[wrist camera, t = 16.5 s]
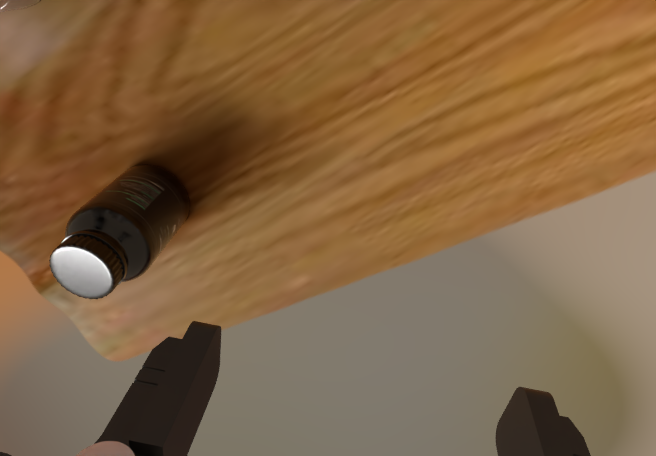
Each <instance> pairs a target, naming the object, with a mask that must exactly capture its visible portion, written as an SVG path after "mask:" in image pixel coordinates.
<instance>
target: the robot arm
mask: <svg viewBox="0 0 656 456" xmlns="http://www.w3.org/2000/svg"><path fill="white" fill-rule="evenodd" d="M39 1H40V0H0V12H4V11H10V10H16V9H22V8H26V7H29V6H32V5H35V4H36V3H38V2H39ZM220 348H221V327H220V326H217V325H211V324H206V323H201V322H196V321H193V322H192V323H191V324H190V326H189V328H188V330H187V331H186V333H185V335H184V337H183V339H178V338H173V337H168V338H166V339H165V340H164V341H163V342H161V343H160V344H159V345H158V346H156V347H155V348H154V349H152V351H151V353H150V354H149V356H148V358H147V360H146V361H145V363H144V365H143V368H142V369H141V370H140V371H139V373H138V375H137V377H136V378H135V381H134V383H132V385H131V386H130V388H129V390H128V392H127V393H126V395H125V397H124V398H123V400H122V402H121V403H120V405H119V407H118V408H117V410H116V412H115V414H114V415H113V417H112V419H111V420H110V422H109V424H108V425H107V427H106V429H105V430H104V432H103V434H102V435H101V436H100V438H99V439H98V440H97V441H96V442H95V443H94V444H93V445H91V446H89V447H87V448H85V449H83V450H82V451H81V452H79V453H78V454H77V455H76V456H187V454H188V452H189V449H190V447H191V444H192V442H193V439H194V437H195V435H196V432H197V429H198V427H199V425H200V422H201V420H202V417H203V415H204V412H205V410H206V407H207V405H208V402H209V400H210V397H211V395H212V392H213V390H214V387H215V384H216V381H217V377H218V373H219V367H220ZM496 447H497V452H498V456H591V455H590V453H589V450H588V448H587V445H586V442H585V440H584V437H583V436H582V435H581V433H580V432H579V431H578V429H577V428H576V427H575V425H574V424H573V423H572V421H571V420H570V419H569V418H568V417H563V416H559V413H558V410H557V407H556V405H555V402H554V399H553V397H552V395H551V394H550V393H548V392H544V391H539V390H533V389H529V388H524V387H518V388H517V389H516V390H515V392H514V394H513V396H512V398H511V400H510V401H509V404H508V405H507V407H506V409H505V411H504V412H503V414H502V416H501V418H500V420H499V422H498V425H497V429H496ZM0 456H11V455H9V454H7V453H3V452H0Z"/></svg>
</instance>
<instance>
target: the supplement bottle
mask: <svg viewBox="0 0 656 456" xmlns="http://www.w3.org/2000/svg"><path fill="white" fill-rule="evenodd" d="M189 209H190V203H189V197H188V194H187V192H186V190H185V188H184V186H183V185H182V183H181V182H180V181H179V180H178V179H177V178H176V177H175V176H174V175H173V174H171V173H170V172H168V171H166V170H165V169H162V168H160V167H157V166H152V165H139V166H135V167H132V168H130V169H128V170H127V171H125V172H124V173H123V174H121V175H120V176H119V177H118V178H116V179H115V180H114V181H113V182H111V183H110V184H109V185H108V186H107V187H105V188H104V189H103V190H102V191H100V192H99V193H98V194H97V195H96V196H94V197H93V198H92V199H91V200H89V201H88V202H87V203H86V204H85V205H83V206H82V207H81V208H80V209H79V210H78V211H76V212H75V213H74V214H73V215H72V216H71V218H70V219H69V221H68V223H67V227H66V232H65V239H64V240H63V241H62V242H61V244H60V245H59V246H58V247H57V248H56V249H55V250H54V251H53V253H52V254H51V256H50V258H51V259H50V260H49V261H50V267H51V271H52V273H53V275H54V277H55V278H56V279H57V281H58V282H59V283H60V284H61V286H63V287H64V288H65V289H66V290H68V291H70V292H71V293H73V294H76V295H77V296H79V297H83V298H89V299H98V298H103V297H104V296H107V295H108V294H109V293H111V292H112V291H113V290H114V289H115V287H116V286H117V285H119V284H120V283H121V282H125V281H130V280H133V279H136V278H138V277H139V276H141V275H142V274H143V273H145V272H146V270H147V269H148V268H149V267H150V266H151V265H152V263H153V262H154V261H155V259H156V258H157V257H158V256H159V254H160V253H161V252H162V251H163V249H164V248H165V247H166V245H167V244H168V243H169V242H170V240H171V239H172V238H173V236H174V235H175V234H176V233H177V231H178V230H179V229H180V228H181V226H182V225H183V223H184V222H185V220H186V219H187V217H188V214H189Z"/></svg>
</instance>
